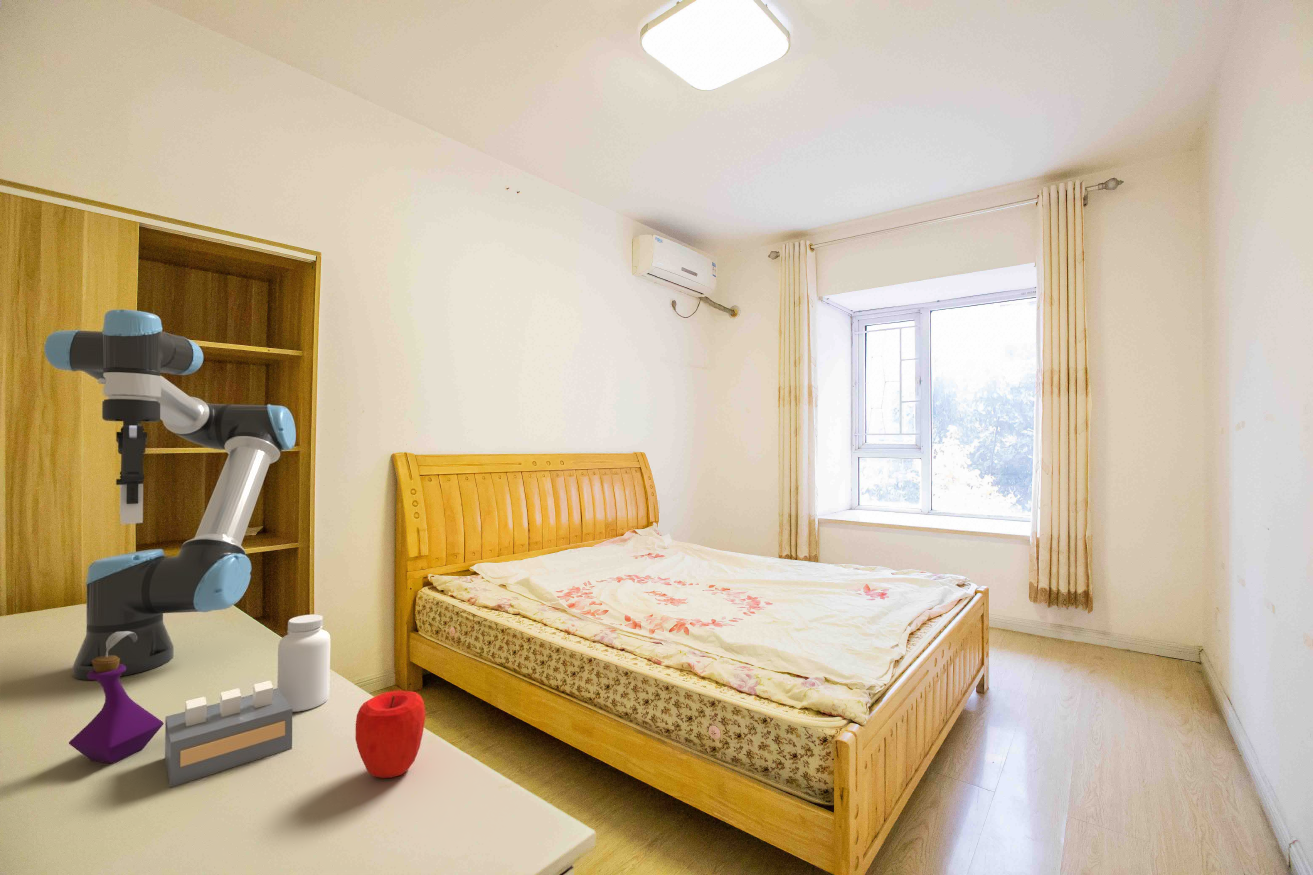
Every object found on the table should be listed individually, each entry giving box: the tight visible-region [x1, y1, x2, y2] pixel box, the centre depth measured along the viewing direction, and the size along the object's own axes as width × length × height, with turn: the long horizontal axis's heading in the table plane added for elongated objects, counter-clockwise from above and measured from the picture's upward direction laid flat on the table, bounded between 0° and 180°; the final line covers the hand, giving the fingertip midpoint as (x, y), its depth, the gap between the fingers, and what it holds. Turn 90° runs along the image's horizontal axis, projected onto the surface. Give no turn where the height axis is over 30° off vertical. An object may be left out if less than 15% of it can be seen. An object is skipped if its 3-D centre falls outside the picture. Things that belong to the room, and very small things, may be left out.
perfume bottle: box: [68, 631, 164, 764], centre depth 84 cm, size 8×8×18 cm
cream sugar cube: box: [252, 680, 274, 708], centre depth 87 cm, size 2×2×3 cm
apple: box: [355, 690, 427, 779], centre depth 79 cm, size 9×9×11 cm
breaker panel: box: [164, 687, 293, 788], centre depth 84 cm, size 10×14×6 cm
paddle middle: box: [219, 687, 242, 717], centre depth 84 cm, size 2×2×3 cm
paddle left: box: [184, 696, 208, 727], centre depth 81 cm, size 2×2×3 cm
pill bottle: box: [276, 614, 331, 713], centre depth 100 cm, size 8×8×15 cm
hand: (130, 519), depth 99 cm, fingers open, 13 cm apart
